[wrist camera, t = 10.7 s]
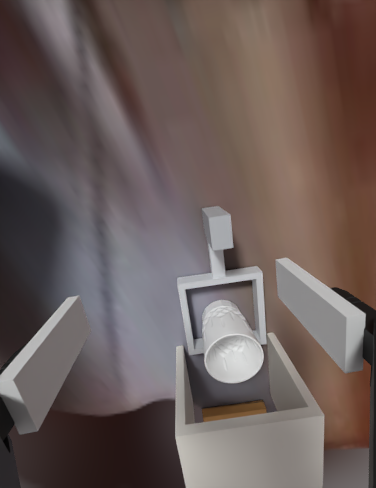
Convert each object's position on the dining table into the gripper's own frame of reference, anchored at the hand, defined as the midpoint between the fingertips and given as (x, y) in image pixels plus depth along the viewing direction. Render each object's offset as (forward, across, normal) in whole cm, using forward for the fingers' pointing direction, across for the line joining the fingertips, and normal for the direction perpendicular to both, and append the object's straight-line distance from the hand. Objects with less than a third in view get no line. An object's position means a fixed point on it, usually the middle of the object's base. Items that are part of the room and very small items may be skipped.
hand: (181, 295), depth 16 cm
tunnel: (+21, +5, -28) cm, 36 cm away
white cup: (+21, +5, -17) cm, 27 cm away
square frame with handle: (+21, +5, -9) cm, 23 cm away
